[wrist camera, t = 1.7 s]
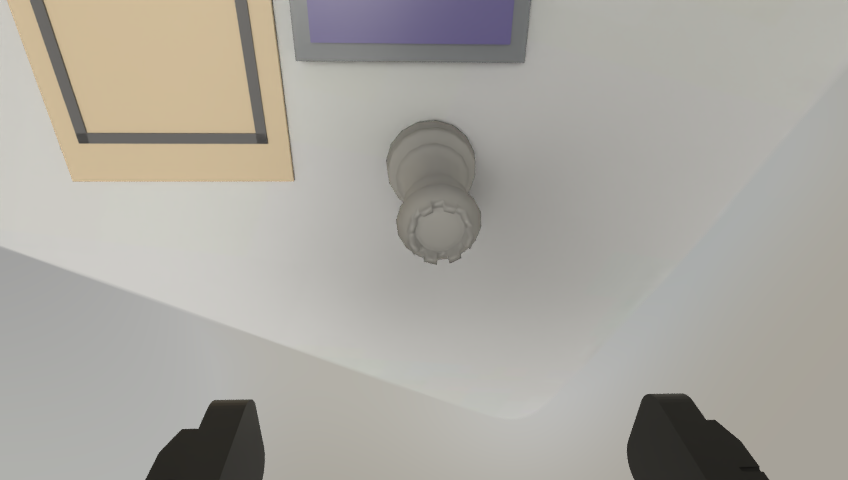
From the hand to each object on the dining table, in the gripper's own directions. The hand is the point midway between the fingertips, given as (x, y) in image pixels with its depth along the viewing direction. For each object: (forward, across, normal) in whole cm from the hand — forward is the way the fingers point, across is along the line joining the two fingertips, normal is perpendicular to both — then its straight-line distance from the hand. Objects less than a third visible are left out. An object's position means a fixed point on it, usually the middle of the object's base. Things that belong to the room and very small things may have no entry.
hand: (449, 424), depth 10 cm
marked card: (+17, +12, -5) cm, 21 cm away
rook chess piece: (+17, 0, 0) cm, 17 cm away
